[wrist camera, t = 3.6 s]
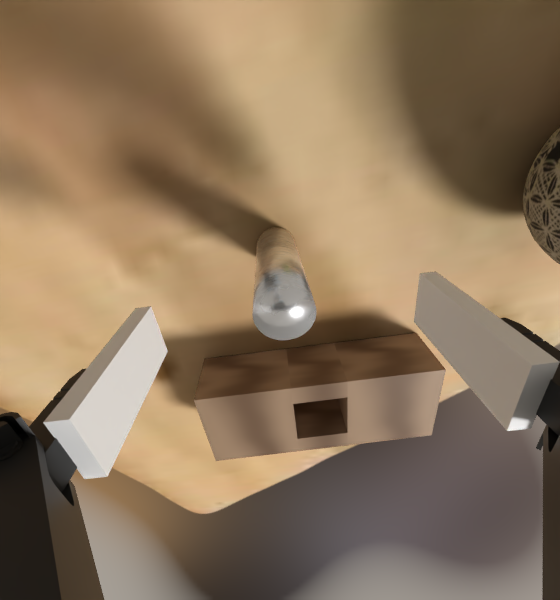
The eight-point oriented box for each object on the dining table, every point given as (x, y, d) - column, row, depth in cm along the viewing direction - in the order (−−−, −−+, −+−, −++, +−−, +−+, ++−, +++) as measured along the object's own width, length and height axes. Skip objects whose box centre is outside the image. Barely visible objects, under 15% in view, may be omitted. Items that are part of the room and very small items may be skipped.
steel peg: (259, 266, 23) (257, 343, 14) (254, 229, 22) (247, 290, 13) (297, 262, 23) (317, 336, 14) (293, 224, 22) (314, 282, 13)
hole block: (222, 416, 31) (216, 460, 27) (204, 358, 27) (193, 400, 23) (407, 393, 31) (431, 435, 27) (416, 332, 27) (445, 369, 23)
